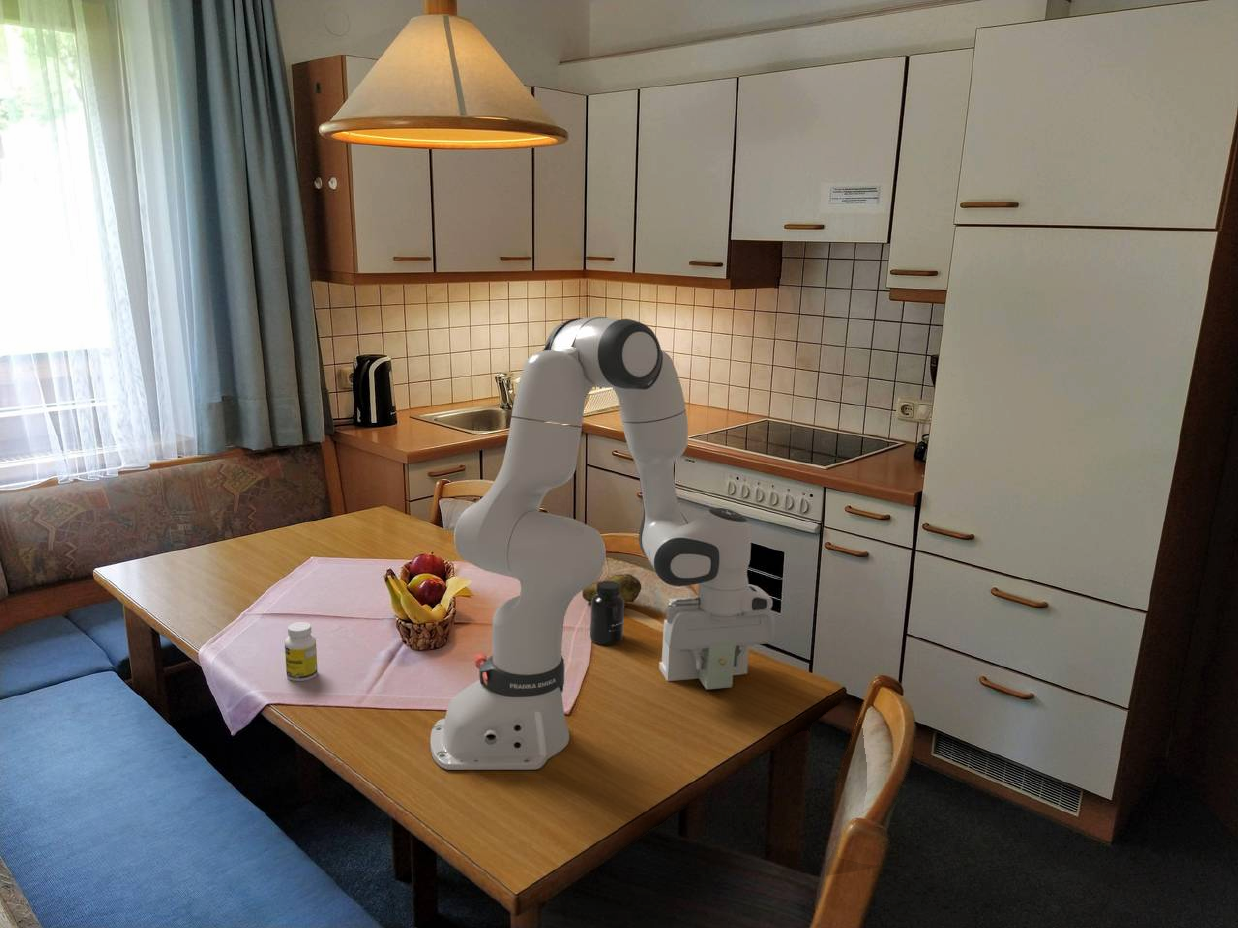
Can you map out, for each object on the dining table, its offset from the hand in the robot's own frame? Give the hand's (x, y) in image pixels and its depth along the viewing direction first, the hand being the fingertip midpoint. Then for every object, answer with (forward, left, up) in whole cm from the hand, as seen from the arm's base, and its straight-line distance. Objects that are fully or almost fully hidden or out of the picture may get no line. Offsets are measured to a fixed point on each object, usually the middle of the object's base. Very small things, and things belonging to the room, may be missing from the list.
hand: (717, 666), depth 165 cm
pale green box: (0, 0, -3) cm, 3 cm away
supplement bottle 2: (-15, +24, -5) cm, 29 cm away
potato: (-10, +41, -5) cm, 42 cm away
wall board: (0, +5, -4) cm, 7 cm away
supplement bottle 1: (-74, +19, -5) cm, 77 cm away
